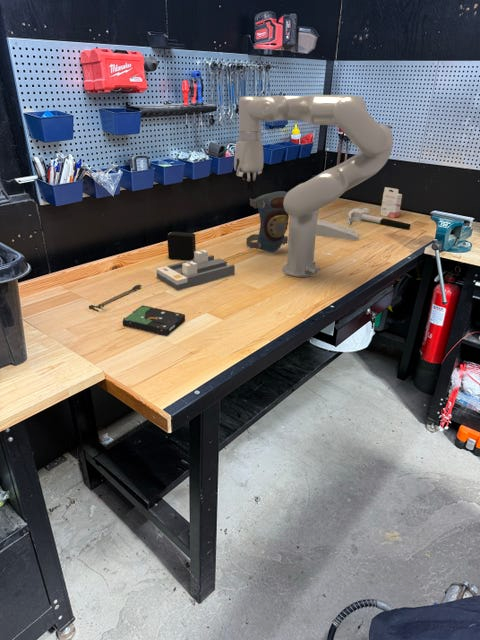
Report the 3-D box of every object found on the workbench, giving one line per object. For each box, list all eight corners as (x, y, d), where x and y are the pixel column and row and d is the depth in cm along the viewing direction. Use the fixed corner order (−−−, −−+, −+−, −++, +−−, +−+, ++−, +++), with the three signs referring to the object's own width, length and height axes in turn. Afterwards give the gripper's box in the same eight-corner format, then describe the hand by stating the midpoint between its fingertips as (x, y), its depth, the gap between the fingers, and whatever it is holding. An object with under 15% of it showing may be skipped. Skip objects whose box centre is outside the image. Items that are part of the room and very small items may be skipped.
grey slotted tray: (234, 274, 165) (234, 265, 163) (177, 290, 151) (177, 280, 150) (212, 263, 174) (212, 254, 173) (156, 277, 161) (156, 268, 159)
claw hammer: (417, 217, 223) (361, 205, 240) (399, 227, 208) (341, 213, 224) (415, 228, 226) (360, 216, 242) (397, 238, 211) (339, 224, 227)
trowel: (368, 237, 208) (370, 225, 205) (349, 245, 198) (351, 232, 195) (318, 225, 225) (319, 214, 223) (298, 231, 215) (299, 220, 213)
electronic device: (193, 261, 177) (192, 236, 172) (168, 259, 178) (166, 234, 174) (196, 257, 180) (195, 233, 176) (172, 255, 182) (170, 231, 177)
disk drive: (185, 322, 133) (142, 312, 138) (185, 313, 131) (142, 304, 136) (167, 338, 124) (122, 327, 129) (166, 329, 123) (121, 318, 128)
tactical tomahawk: (102, 316, 136) (102, 313, 136) (87, 309, 139) (87, 306, 139) (152, 292, 151) (152, 289, 151) (138, 286, 154) (138, 283, 154)
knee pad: (258, 258, 180) (260, 194, 168) (238, 244, 196) (238, 184, 184) (298, 252, 186) (302, 190, 175) (275, 239, 202) (278, 181, 191)
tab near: (197, 276, 156) (196, 262, 154) (187, 279, 154) (186, 265, 152) (192, 274, 158) (192, 260, 156) (182, 276, 156) (182, 262, 154)
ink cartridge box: (399, 216, 240) (404, 188, 233) (394, 218, 237) (398, 189, 230) (384, 213, 246) (389, 185, 239) (379, 215, 242) (383, 186, 236)
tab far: (208, 264, 167) (207, 250, 165) (199, 266, 165) (198, 252, 163) (203, 262, 170) (203, 248, 167) (194, 264, 167) (194, 250, 165)
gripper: (259, 134, 161) (258, 187, 169) (225, 137, 152) (225, 192, 161) (273, 136, 156) (271, 191, 164) (239, 139, 147) (239, 196, 156)
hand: (249, 191), depth 162 cm, fingers closed
